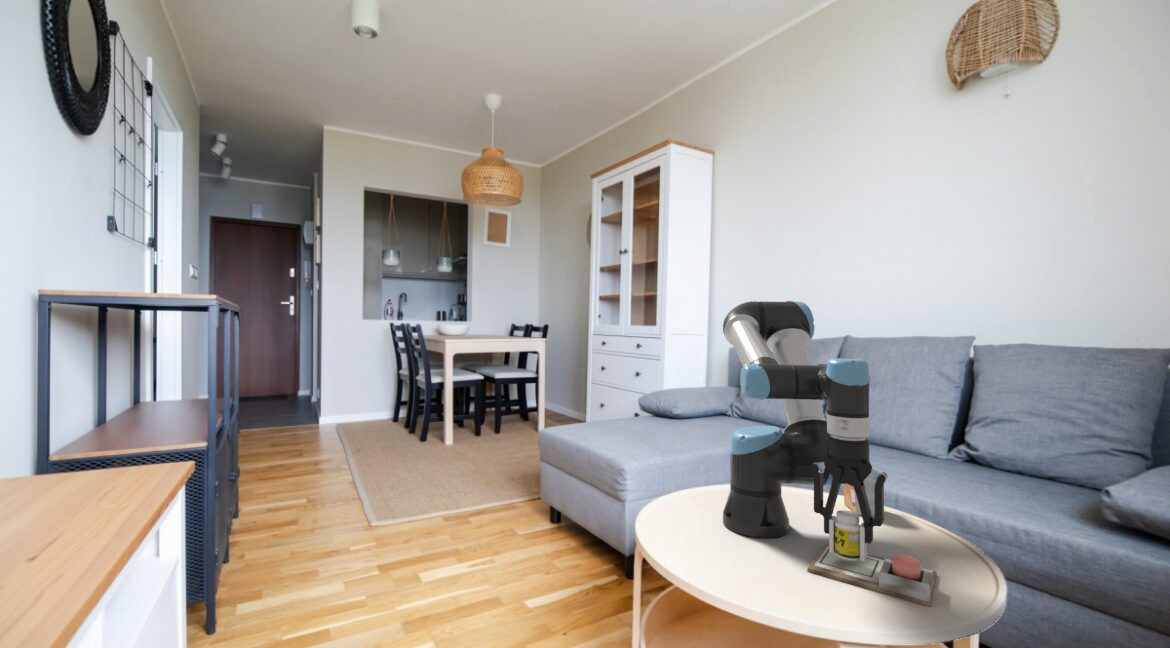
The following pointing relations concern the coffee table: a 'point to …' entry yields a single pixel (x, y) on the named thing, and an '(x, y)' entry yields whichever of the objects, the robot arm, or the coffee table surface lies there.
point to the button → (906, 567)
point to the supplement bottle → (847, 535)
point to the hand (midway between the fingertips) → (847, 554)
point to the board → (874, 576)
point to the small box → (851, 496)
